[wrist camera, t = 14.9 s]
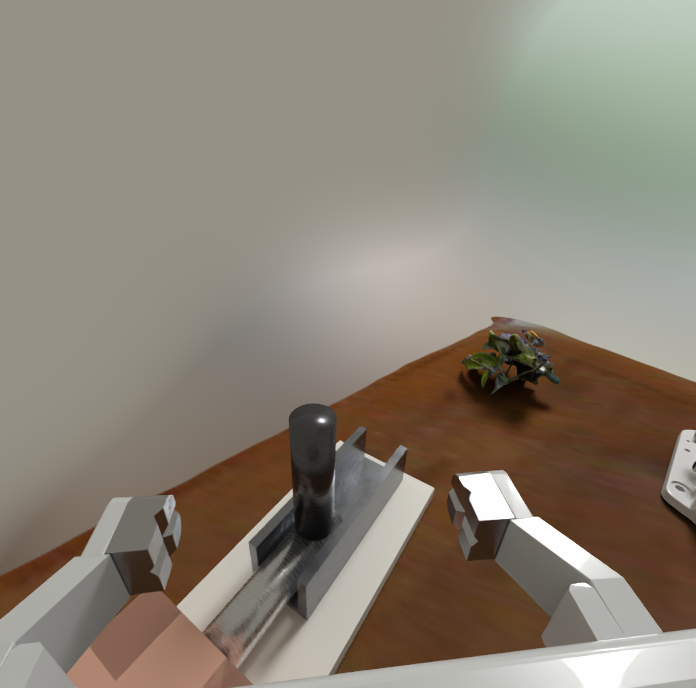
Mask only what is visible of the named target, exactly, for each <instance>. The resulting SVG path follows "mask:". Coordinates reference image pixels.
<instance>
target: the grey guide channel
mask: <svg viewBox="0 0 696 688" xmlns="http://www.w3.org/2000/svg"><path fill="white" fill-rule="evenodd" d="M365 442H366V429H365V428H363V427H361V426H360V427H359V428H358V429H357V430H356V431H355V432H354V433H353V434H352V435H351V436H350V437H349V438H348V439H347V440H346V441H345V442H344V443H343V445H342V446H341V447H340V448H339V449H338V450H337V451H336V457H335V496H334V509H335V510H336V511H337V512H338V513H339V514H340V516H341V518H342V520H343V521H342V522H341V523H340V524H339V526H338V527H337V528H336V530H335V531H334V532H333V534H332V535H331V536H330V537H329V539H328V540H327V541H326V543H325V544H324V545H323V547H322V548H321V549H320V551H319V552H318V553H317V554H316V556H315V557H314V558H313V560H312V561H311V562H310V564H309V565H308V566H307V568H306V569H305V570H304V571H303V573H302V574H301V575H300V577H299V578H298V579H297V588H298V589H297V591H296V592H295V593H294V595H293V596H292V597H291V599H290V600H289V601H288V603H287V605H288V606H289V607H291V608H292V609H293V610H294V611H296V612H297V613H298V614H299V615H300V616H302V617H303V618H304V619H305V620H306V621H308V619H309V618H310V616H311V615H312V613H313V612H314V610H315V609H316V607H317V606H318V604H319V603H320V602H321V600H322V599H323V597H324V596H325V594H326V593H327V591H328V590H329V588H330V587H331V585H332V584H333V582H334V581H335V579H336V578H337V576H338V575H339V573H340V572H341V571H342V569H343V568H344V566H345V565H346V563H347V562H348V560H349V559H350V557H351V556H352V554H353V553H354V551H355V550H356V548H357V547H358V545H359V544H360V542H361V541H362V540H363V538H364V537H365V535H366V534H367V532H368V531H369V529H370V528H371V526H372V525H373V523H374V522H375V520H376V519H377V517H378V516H379V514H380V513H381V511H382V510H383V509H384V507H385V506H386V504H387V503H388V501H389V500H390V498H391V497H392V495H393V494H394V492H395V491H396V489H397V488H398V486H399V485H400V483H401V482H402V480H403V474H404V468H405V461H406V455H407V448H406V447H403V446H401V445H400V446H399V447H398V449H397V450H396V451H395V453H394V454H393V455H392V457H391V458H390V459H389V460H388V462H387V463H386V464H385V466H382V465H380V464H378V463H376V462H374V461H372V460H370V459H368V458H366V457H364V455H365ZM294 527H295V524H294V506H293V497H292V498H291V499H290V500H289V501H288V502H287V503H286V504H285V505H284V506H283V507H282V508H281V509H280V510H279V511H278V512H277V513H276V514H275V515H274V516H273V517H272V518H271V519H270V520H269V521H268V522H267V524H266V525H265V526H264V527H263V528H262V529H261V530H260V531H259V532H258V533H257V534H256V535H255V536H254V537H253V538H252V539H251V540H250V541H249V542H248V543H249V550H250V556H251V563H252V569H253V573H254V572H255V571H256V570H257V569H258V568H259V566H260V565H261V564H262V563H263V562H264V561H265V560H266V558H267V557H268V556H269V555H270V554H271V553H272V552H273V551H274V549H275V548H276V547H277V546H278V545H279V544H280V543H281V541H282V540H283V539H284V538H285V537H286V536H287V535H288V533H289V532H290V531H291V530H292V529H293V528H294Z"/></svg>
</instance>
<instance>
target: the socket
mask: <svg viewBox="0 0 696 688" xmlns="http://www.w3.org/2000/svg"><path fill="white" fill-rule="evenodd" d="M67 676H68V677H69V678H70V679H71V681H72V682H73V683H74V684H75V685H76V687H77V688H232V687H240V686H248V685H253V684H252V683H251V682H250V681H249V680H248V679H247V678H246V677H245V676H244V675H243V674H242V673H241V672H240V671H239V670H238V669H237V668H236V667H235V666H234V665H233V663H232V662H231V661H230V660H229V659H228V658H227V657H226V656H225V655H224V654H223V653H222V652H221V651H220V650H219V649H218V648H217V647H216V646H215V645H214V644H213V643H212V642H211V641H210V640H209V639H208V638H207V637H206V636H205V635H204V634H203V633H202V632H201V631H200V630H199V629H198V628H197V627H196V626H195V625H194V624H193V623H192V622H191V621H190V620H189V619H188V618H187V617H186V616H185V615H184V614H183V613H182V612H181V611H180V610H179V609H178V608H177V607H176V606H175V605H174V604H173V603H172V602H171V601H170V600H169V599H168V598H167V597H166V596H165V595H164V594H163V593H162V592H161V591H158V592H150V593H142V594H140V595H139V596H138V597H137V598H136V599H135V600H134V601H132V602H131V603H130V604H129V605H128V606H127V607H126V608H125V609H124V610H123V611H122V612H120V613H119V614H118V615H117V616H116V617H115V618H114V619H113V620H112V621H111V622H110V623H109V624H108V625H107V626H106V627H105V628H104V630H103V631H102V632H101V633H100V634H99V636H98V637H97V638H96V639H95V640H94V642H93V643H92V644H91V645H90V646H89V648H88V649H87V650H86V651H85V652H84V654H83V655H82V656H81V657H80V658H79V660H78V661H77V662H76V663H75V664H74V666H73V667H72V668H71V669H70V670H69V672H68V673H67Z"/></svg>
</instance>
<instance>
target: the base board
mask: <svg viewBox="0 0 696 688" xmlns="http://www.w3.org/2000/svg"><path fill="white" fill-rule="evenodd" d="M343 443H344V442H342V441H339V442H338V443H337V444H336V451H337V450H338V449H339V448H340V447H341V446H342V445H343ZM364 457H366V458H368V459H370V460H372V461H374V462H376V463H378V464H380V465H382V466H385V463H383V462H381V461H380V460H378V459H376V458H374V457H372V456H370V455H368V454H366V453H365V455H364ZM434 489H435V488H433V487H431V486H429V485H427V484H425V483H423V482H421V481H419V480H417V479H415V478H413V477H411V476H409V475H407V474H405V473H404V474H403V480H402V482H401V483H400V485H399V486H398V488H397V489H396V491H395V492H394V494H393V495H392V497H391V498H390V500H389V501H388V503H387V504H386V506H385V507H384V509H383V510H382V511H381V513H380V514H379V516H378V517H377V519H376V520H375V522H374V523H373V525H372V526H371V528H370V529H369V531H368V532H367V534H366V535H365V537H364V538H363V540H362V541H361V542H360V544H359V545H358V547H357V548H356V550H355V551H354V553H353V554H352V556H351V557H350V559H349V560H348V562H347V563H346V565H345V566H344V568H343V569H342V571H341V572H340V573H339V575H338V576H337V578H336V579H335V581H334V582H333V584H332V585H331V587H330V588H329V590H328V591H327V593H326V594H325V596H324V597H323V599H322V600H321V602H320V603H319V604H318V606H317V607H316V609H315V610H314V612H313V613H312V615H311V616H310V618H309V619H308V621H306V620H305V619H304V618H303V617H302V616H300V615H299V614H298V613H297V612H296V611H294V610H293V609H292V608H291V607H289V606H288V605H287V604H286V605H285V607H284V608H283V609H282V611H281V612H280V613H279V615H278V616H277V617H276V619H275V620H274V621H273V623H272V624H271V625H270V627H269V628H268V629H267V631H266V632H265V633H264V635H263V636H262V637H261V639H260V640H259V641H258V643H257V644H256V646H255V647H254V648H253V650H252V651H251V652H250V654H249V655H248V656H247V658H246V659H245V660H244V662H243V663H242V664H241V666H240V667H239V668H238V670H239V671H240V672H241V673H242V674H243V675H244V676H245V677H246V678H247V679H248V680H249V681H250V682H251V683H252V684H253V685H255V684H263V683H271V682H279V681H287V680H295V679H303V678H311V677H318V676H326V675H334V674H335V672H336V670H337V668H338V666H339V665H340V663H341V661H342V659H343V657H344V656H345V654H346V652H347V650H348V648H349V647H350V645H351V643H352V641H353V639H354V638H355V636H356V634H357V632H358V631H359V629H360V627H361V625H362V623H363V622H364V620H365V618H366V616H367V614H368V613H369V611H370V609H371V607H372V605H373V604H374V602H375V600H376V598H377V596H378V595H379V593H380V591H381V589H382V588H383V586H384V584H385V582H386V580H387V579H388V577H389V575H390V573H391V571H392V570H393V568H394V566H395V564H396V562H397V561H398V559H399V557H400V555H401V553H402V552H403V550H404V548H405V546H406V545H407V543H408V541H409V539H410V537H411V536H412V534H413V532H414V530H415V528H416V527H417V525H418V523H419V521H420V519H421V518H422V516H423V514H424V512H425V510H426V509H427V507H428V505H429V503H430V502H431V500H432V498H433V493H434ZM292 497H293V489H292V490H291V491H290V492H289V493H288V494H287V495H286V496H285V497H284V498H283V499H282V500H281V501H280V502H279V503H278V504H277V505H276V506H275V507H274V508H273V509H272V510H271V511H270V512H269V513H268V514H267V515H266V516H265V517H264V518H263V519H262V520H261V521H260V522H259V523H258V524H257V525H256V526H255V527H254V528H253V529H252V530H251V531H250V532H249V533H248V534H247V535H246V536H245V537H244V538H243V539H242V540H241V541H240V542H239V543H238V544H237V546H236V547H235V548H234V549H233V550H232V551H231V552H230V553H229V554H228V555H227V556H226V557H225V558H224V559H223V560H222V561H221V562H220V563H219V564H218V565H217V566H216V567H215V568H214V569H213V570H212V571H211V572H210V573H209V574H208V575H207V576H206V577H205V578H204V579H203V580H202V581H201V582H200V583H199V584H198V585H197V586H196V587H195V588H194V589H193V590H192V591H191V592H190V593H189V594H188V595H187V596H186V597H185V598H184V599H183V600H182V601H181V602H180V603H179V604H178V605H177V606H176V607H177V608H178V609H179V610H180V611H181V612H182V613H183V614H184V615H185V616H186V617H187V618H188V619H189V620H190V621H191V622H192V623H193V624H194V625H195V626H196V627H197V628H198V629H199V630H200V631H201V632H202V631H203V630H204V629H205V628H206V627H207V626H208V624H209V623H210V622H211V621H212V620H213V619H214V618H215V616H216V615H217V614H218V613H219V612H220V611H221V610H222V608H223V607H224V606H225V605H226V604H227V603H228V602H229V601H230V599H231V598H232V597H233V596H234V595H235V594H236V593H237V591H238V590H239V589H240V588H241V587H242V586H243V585H244V583H245V582H246V581H247V580H248V579H249V578H250V577H251V576H252V574H253V569H252V563H251V556H250V550H249V543H248V542H249V541H250V540H251V539H252V538H253V537H254V536H255V535H256V534H257V533H258V532H259V531H260V530H261V529H262V528H263V527H264V526H265V525H266V524H267V522H268V521H269V520H270V519H271V518H272V517H273V516H274V515H275V514H276V513H277V512H278V511H279V510H280V509H281V508H282V507H283V506H284V505H285V504H286V503H287V502H288V501H289V500H290V499H291V498H292Z"/></svg>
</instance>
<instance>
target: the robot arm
mask: <svg viewBox="0 0 696 688" xmlns="http://www.w3.org/2000/svg"><path fill="white" fill-rule="evenodd" d="M451 483H452V486H453V489H452V490H451V491H450V492H449V493H448V499H447V504H448V512H449V516H450V519H451V522H452V524H453V525H454V526H455V527H456V528H457V529H458V530H459V531H460V533H459V537H458V540H459V543H460V545H461V548H462V550H463V553H464V555H465V558H466V560H467V561H473V560H488V559H495V561H496V562H497V563H498V564H499V565H500V566H501V567H502V568H503V569H504V570H505V571H506V572H507V573H508V574H509V575H510V576H511V577H512V578H513V579H514V580H515V581H516V582H517V583H518V584H519V585H520V586H521V587H522V588H523V589H524V591H525V592H526V593H527V594H528V595H529V596H530V597H531V598H532V599H533V600H534V601H535V602H536V603H537V604H538V605H539V606H540V607H541V608H542V609H543V610H544V611H545V612H546V613H547V614H548V615H549V616H550V617H551V619H550V621H549V623H548V624H547V626H546V628H545V629H544V631H543V634H542V636H541V638H542V640H543V642H544V644H545V646H546V648H539V649H531V650H523V651H515V652H508V653H500V654H492V655H484V656H476V657H468V658H460V659H452V660H445V661H437V662H429V663H421V664H413V665H405V666H397V667H389V668H381V669H374V670H366V671H358V672H350V673H342V674H334V675H326V676H318V677H311V678H303V679H295V680H287V681H279V682H271V683H263V684H255V685H248V686H240V687H232V688H696V629H689V630H681V631H673V632H665V633H663V632H662V631H661V629H660V628H659V626H658V625H657V624H656V622H655V621H654V619H653V618H652V617H651V615H650V614H649V612H648V611H647V610H646V608H645V607H644V606H643V604H642V603H641V601H640V600H639V599H638V597H637V596H636V594H635V593H634V592H633V590H632V589H631V587H630V586H629V585H628V583H627V582H626V581H625V579H624V578H623V577H622V576H620V575H619V574H618V573H616V572H615V571H613V570H612V569H611V568H609V567H608V566H606V565H605V564H604V563H602V562H601V561H599V560H598V559H597V558H595V557H594V556H592V555H591V554H590V553H588V552H587V551H585V550H584V549H582V548H581V547H580V546H578V545H577V544H575V543H574V542H573V541H571V540H570V539H568V538H567V537H566V536H564V535H563V534H561V533H560V532H559V531H557V530H556V529H554V528H553V527H552V526H550V525H549V524H547V523H546V522H544V521H543V520H542V519H540V518H539V517H533V516H532V514H531V513H530V511H529V509H528V508H527V506H526V505H525V503H524V501H523V500H522V498H521V496H520V495H519V493H518V491H517V490H516V488H515V487H514V485H513V483H512V482H511V480H510V478H509V477H508V475H507V473H506V472H504V471H503V470H499V471H487V472H485V471H481V472H470V473H458V474H454V475H453V477H452V480H451ZM661 494H662V497H663V498H664V499H665V500H666V501H667V502H668V503H669V504H670V505H671V506H673V507H674V508H675V509H676V510H678V511H679V512H681V513H682V514H683V515H685V516H686V517H687V518H689V519H690V520H691V521H692V522H693V523H695V525H696V430H683V431H682V432H681V433H680V434H679V436H678V438H677V441H676V444H675V448H674V451H673V454H672V458H671V461H670V464H669V468H668V471H667V475H666V478H665V481H664V485H663V488H662V491H661ZM175 503H176V502H175V500H174V497H173V495H161V496H140V497H122V498H113V499H112V500H111V501H110V502H109V503H108V505H107V507H106V509H105V511H104V513H103V514H102V516H101V518H100V520H99V522H98V524H97V526H96V528H95V530H94V532H93V534H92V535H91V537H90V539H89V541H88V543H87V545H86V547H85V549H84V551H83V553H82V555H81V557H74V558H73V559H72V560H71V561H69V562H68V563H67V564H66V565H65V566H63V567H62V568H61V569H60V570H59V571H58V572H56V573H55V574H54V575H53V576H52V577H50V578H49V579H48V580H47V581H46V582H44V583H43V584H42V585H41V586H40V587H39V588H37V589H36V590H35V591H34V592H33V593H31V594H30V595H29V596H28V597H27V598H26V599H24V600H23V601H22V602H21V603H20V604H18V605H17V606H16V607H15V608H14V609H12V610H11V611H10V612H9V613H8V614H7V615H5V616H4V617H3V618H2V619H1V620H0V688H77V687H76V685H75V684H74V683H73V682H72V681H71V679H70V678H69V677H68V676H67V673H68V672H69V670H70V669H71V668H72V667H73V666H74V664H75V663H76V662H77V661H78V660H79V658H80V657H81V656H82V655H83V654H84V652H85V651H86V650H87V649H88V648H89V646H90V645H91V644H92V643H93V642H94V640H95V639H96V638H97V637H98V636H99V634H100V633H101V632H102V631H103V630H104V628H105V627H106V626H107V625H108V624H109V622H110V621H111V620H112V619H113V618H114V616H115V615H116V614H117V613H118V612H119V610H120V609H121V608H122V607H123V605H124V604H125V603H126V602H127V601H128V599H129V598H130V595H134V594H142V593H150V592H158V591H164V590H165V587H166V584H167V581H168V577H169V574H170V571H171V567H172V563H171V560H170V557H169V556H170V555H171V554H172V553H173V552H174V551H175V550H176V549H177V547H178V543H179V540H180V533H181V519H180V515H179V513H178V512H176V511H175V510H174V507H175Z"/></svg>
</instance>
